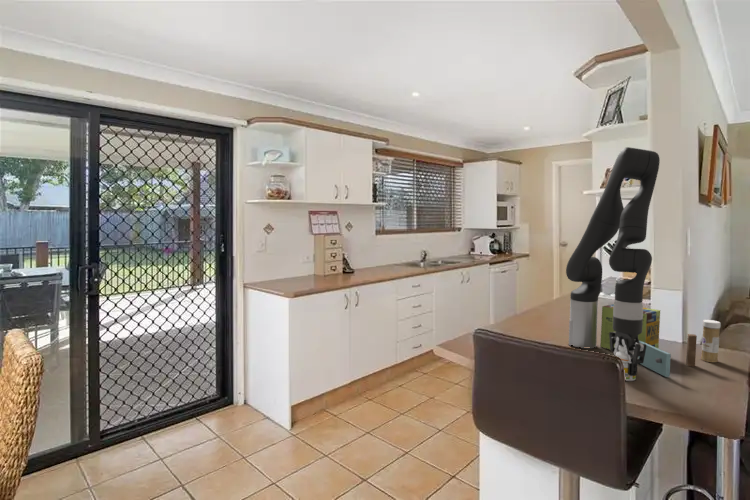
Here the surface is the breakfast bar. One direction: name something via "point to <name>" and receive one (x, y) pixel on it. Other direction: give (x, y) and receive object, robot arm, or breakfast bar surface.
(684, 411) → the breakfast bar surface
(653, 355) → the door
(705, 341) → the sprinkles bottle
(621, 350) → the supplement bottle
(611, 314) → the protein box
